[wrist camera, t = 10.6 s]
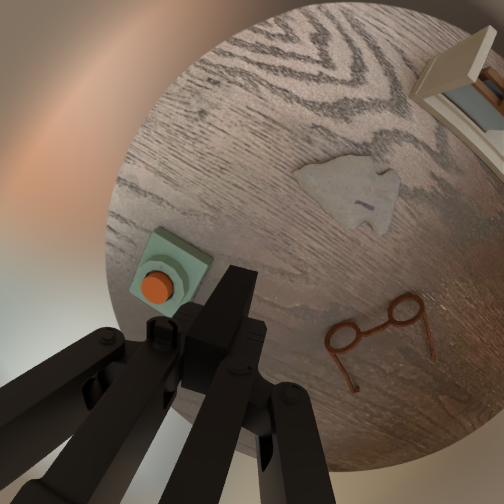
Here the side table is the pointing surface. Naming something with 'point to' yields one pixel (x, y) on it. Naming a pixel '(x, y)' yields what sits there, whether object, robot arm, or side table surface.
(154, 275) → the button
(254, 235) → the side table surface
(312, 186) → the decorative stone
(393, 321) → the glasses
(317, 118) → the side table surface
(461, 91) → the window frame
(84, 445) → the robot arm
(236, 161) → the side table surface
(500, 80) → the pane
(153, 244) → the button box
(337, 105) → the side table surface
